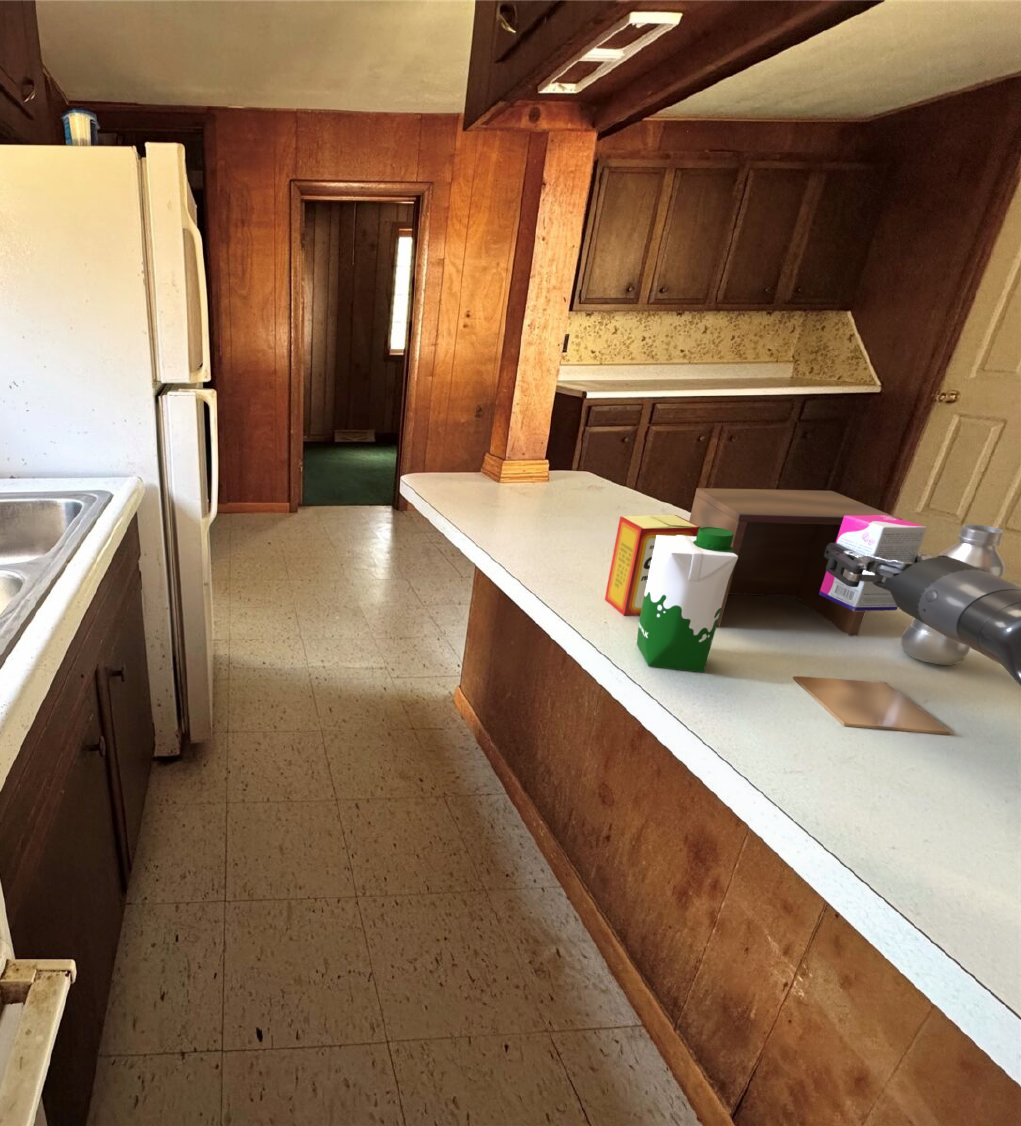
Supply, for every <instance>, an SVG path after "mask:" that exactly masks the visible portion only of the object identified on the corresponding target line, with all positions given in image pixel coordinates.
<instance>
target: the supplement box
mask: <svg viewBox="0 0 1021 1126" xmlns="http://www.w3.org/2000/svg"><path fill="white" fill-rule="evenodd" d="M894 517H895V516H894ZM894 517H890V516H887V515H867V516H852V515H846V516H844V518H843V521H842V525H841V528H840V531H839V534H838V537H837V540H836V543H838V544H840V545H842V546H844V547H845V548H847V549H849V550H851V551H853V552H856V553H859V554H863V555H867V554H878V555H881V556H885V557H889V558H892V559H896V560H897V559H904V560H907V561H911V562H915V559H916V557H917V554H918V553H919V552H920V550H921V549H920V548H921V546H922V543H923V540H924V537H925V535H926V532H927V531H928V527H927V526H924V525H921V524H917V523H914V522H911V521H907V520H904V519H902V518H901V519H902V520H901V519H897V518H894ZM854 561H855V562H856V563H858V564H861V561H860V560H857V559H854ZM879 564H880V562H877V561H875V563H874V566H873V569H872V572H873V573H875V570H876V568H877V566H878V565H879ZM819 595H821V596H823V597H825V598H827V599H829V600H832V601H834V602H836V603H838V604H840V605H842V606H844V607H846V608H848V609H850V610H852V611H866V612H887V611H889V612H891V611H897V610H898V609H899V607H898V606H897V605H896V603H895V601H894V599H893V597H892V594H891V593H890V592H889V591H886V590H883V589H882V588H880V587H878V586H876V585H873V584H870V583H867V582H864V581H860V583H859V586H858V587H850V586H847V585H845V584H844V583H842V582H841V581H840V580H838V579H837V578H835V577H834V576H833V575H831V574H830V573H828V572H827V571H826V574H825V578H824V581H823V584H822V587H821V590H820V593H819Z"/></svg>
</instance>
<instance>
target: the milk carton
mask: <svg viewBox="0 0 1021 1126" xmlns="http://www.w3.org/2000/svg"><path fill="white" fill-rule="evenodd" d="M733 536H734V533H733V532H731V531H729V530H726V529H722V528H715V527H702V528H700V529H699V530H698V534H697V537H694V536H684V535H676V536H665V535H657V536H656V541H655V546H654V551H653V556H652V561H651V565H650V570H649V575H648V580H647V584H646V589H645V594H644V599H643V604H642V609H641V613H640V615H639V620H638V628H637V639H636V645H637V647H638V649H639V651H640V653H641V655H642V657H643V659H644V662H645V663H646V665H647V666H648V667H651V668H662V669H671V670H679V671H689V672H698V673H704V672H705V670H706V666H707V663H708V658H709V655H710V651H711V648H712V644H713V641H714V637H715V633H716V629H717V627H716V626H717V622H718V618H719V614H720V610H721V606H722V603H723V599H724V595H725V591H726V587H727V584H728V580H729V577H730V575H731V573H732V570H733V568H734V566H735V563H736V561H737V559H738V556H737V555H736V554H735V552H734V551H733V549H732V547H731V544H732V540H733Z"/></svg>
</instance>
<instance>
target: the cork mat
mask: <svg viewBox="0 0 1021 1126" xmlns="http://www.w3.org/2000/svg"><path fill="white" fill-rule="evenodd" d="M792 679H793V680H794V681H795V682H796V683H797V684H798V685H799V686H801V688H803V689H804V690H805V692H807V693H808V694H809V695H810V696H811V697H812V698H813V699H814V700H816V701H817V703H819V704H820V705H821V706H822V707H823V708H824V709H825V710H826V711H827V712H828V713H829V714H830V715H831V716H832V717H834V718H835V720H836V721H838V722H839V723H840V724H841V725H842V726H844V727H852V728H854V727H855V728H866V729H878V730H888V731H889V730H890V731H900V732H901V731H902V732H912V733H923V734H924V733H925V734H937V735H946V736H947V735H948V736H950V735H951V734H952V732H951V731H950V730H949V729H947V728H946V727H945V726H944V725H943V724H941V723H940V722H938V721H937V720H936V719H935V718H933V717H932V716H931V715H929V714H928V713H927V712H925V711H924V710H923V709H921V708H920V707H919V706H918V705H916V704H915V703H914V702H912V701H911V700H910V699H909V698H907V697H906V696H905V695H903V693H901V692H899V691H898V690H897V689H896V688H894V687H893V686H891V685H890V684H889V683H888V682H885V681H883V682H882V681H870V680H857V679H856V680H855V679H841V678H829V677H814V676H813V677H812V676H803V675H801V676H799V675H793V677H792Z"/></svg>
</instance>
